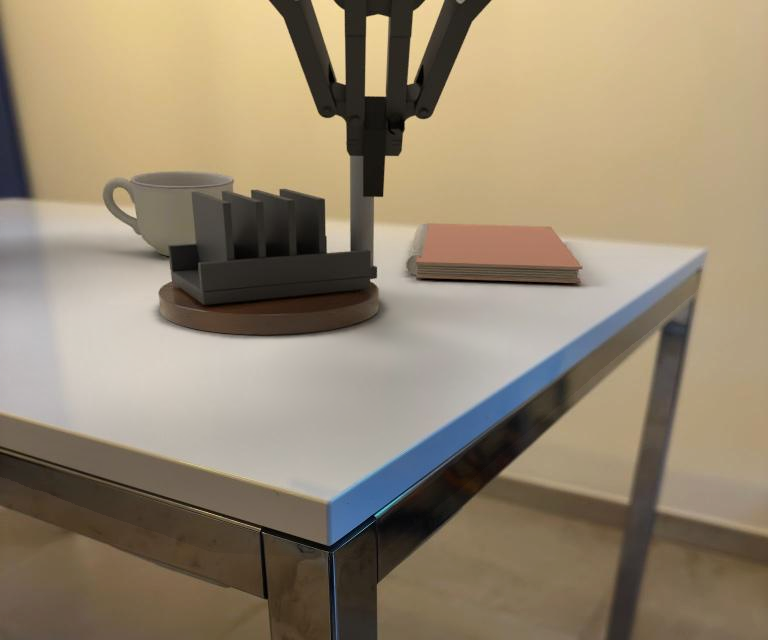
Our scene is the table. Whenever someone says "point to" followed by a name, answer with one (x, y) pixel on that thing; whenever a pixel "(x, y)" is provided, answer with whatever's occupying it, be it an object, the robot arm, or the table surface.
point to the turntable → (270, 312)
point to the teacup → (165, 204)
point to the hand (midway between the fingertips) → (373, 181)
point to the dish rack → (273, 246)
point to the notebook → (491, 253)
